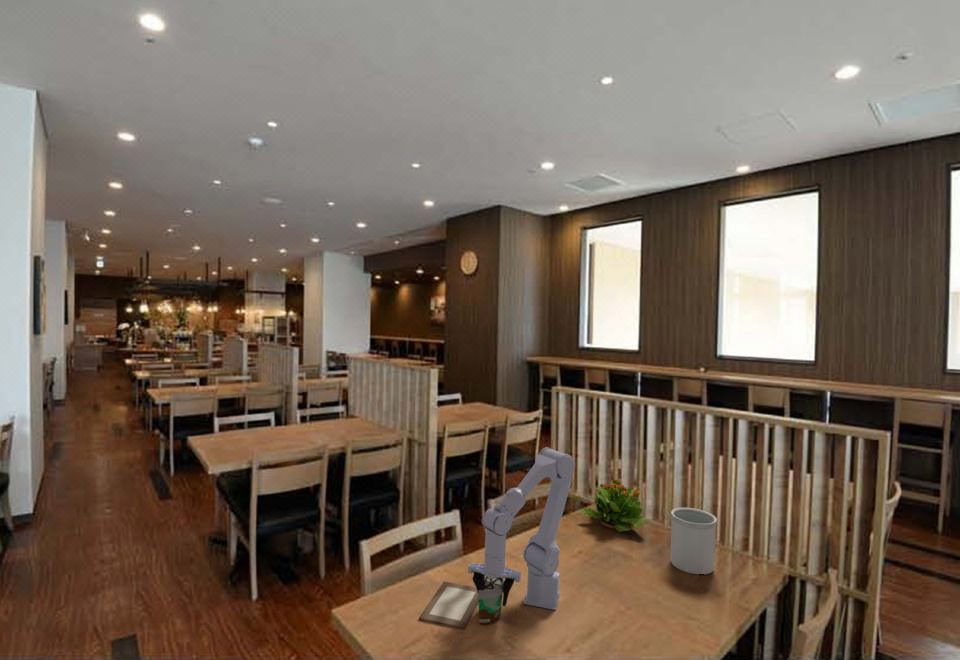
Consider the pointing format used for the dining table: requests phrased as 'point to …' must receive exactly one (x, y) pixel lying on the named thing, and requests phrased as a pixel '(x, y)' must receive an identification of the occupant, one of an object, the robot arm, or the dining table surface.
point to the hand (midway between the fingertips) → (493, 602)
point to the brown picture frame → (451, 605)
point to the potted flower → (617, 507)
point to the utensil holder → (693, 540)
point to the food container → (490, 601)
